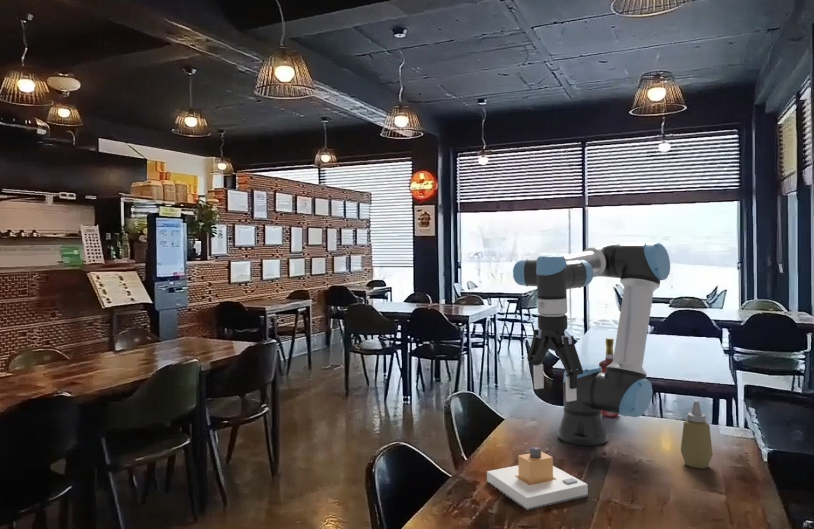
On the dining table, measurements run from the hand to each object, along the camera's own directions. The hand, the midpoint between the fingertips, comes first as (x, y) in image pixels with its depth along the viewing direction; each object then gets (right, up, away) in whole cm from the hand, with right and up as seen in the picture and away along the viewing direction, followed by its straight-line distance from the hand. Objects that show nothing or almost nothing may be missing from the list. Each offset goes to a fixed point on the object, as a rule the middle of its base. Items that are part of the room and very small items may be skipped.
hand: (554, 394), depth 155 cm
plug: (-6, -23, -5) cm, 24 cm away
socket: (-6, -23, -4) cm, 24 cm away
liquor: (+35, -21, +58) cm, 70 cm away
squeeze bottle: (+42, -22, +10) cm, 49 cm away
